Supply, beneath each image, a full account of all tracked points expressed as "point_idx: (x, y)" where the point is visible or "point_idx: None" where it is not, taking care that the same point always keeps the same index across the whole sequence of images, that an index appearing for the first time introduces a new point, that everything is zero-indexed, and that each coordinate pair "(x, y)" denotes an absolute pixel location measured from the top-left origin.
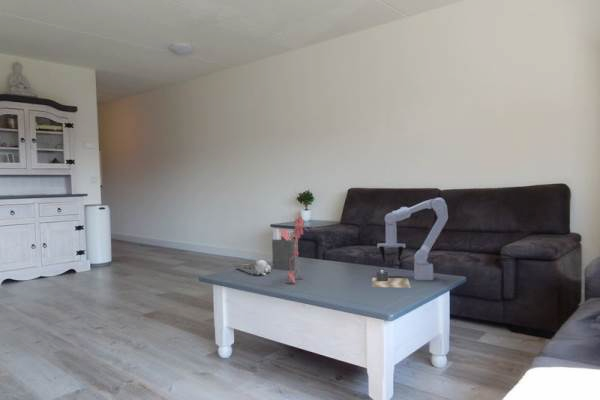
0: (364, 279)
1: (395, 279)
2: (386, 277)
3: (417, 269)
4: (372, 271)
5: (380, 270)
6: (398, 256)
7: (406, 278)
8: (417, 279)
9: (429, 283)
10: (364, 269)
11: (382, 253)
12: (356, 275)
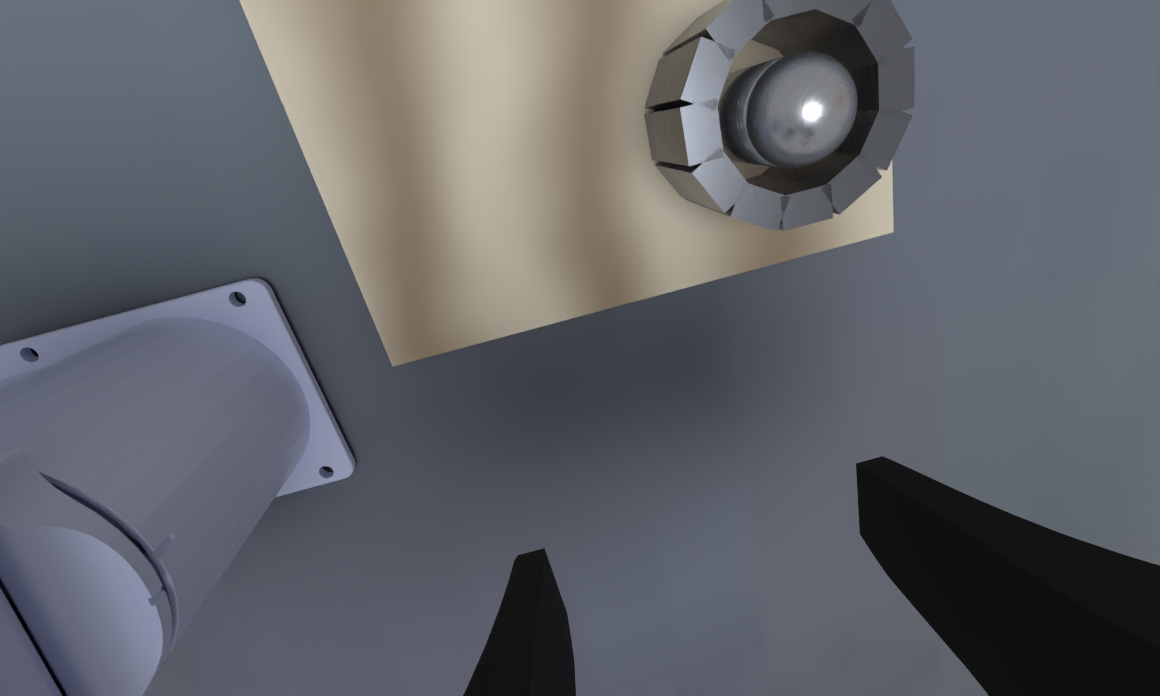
0: (985, 202)
1: (544, 229)
2: (677, 52)
3: (103, 404)
4: (889, 630)
5: (854, 99)
6: (547, 670)
7: (405, 353)
8: (218, 330)
9: (18, 267)
10: (973, 676)
11: (1114, 567)
12: (1076, 393)
